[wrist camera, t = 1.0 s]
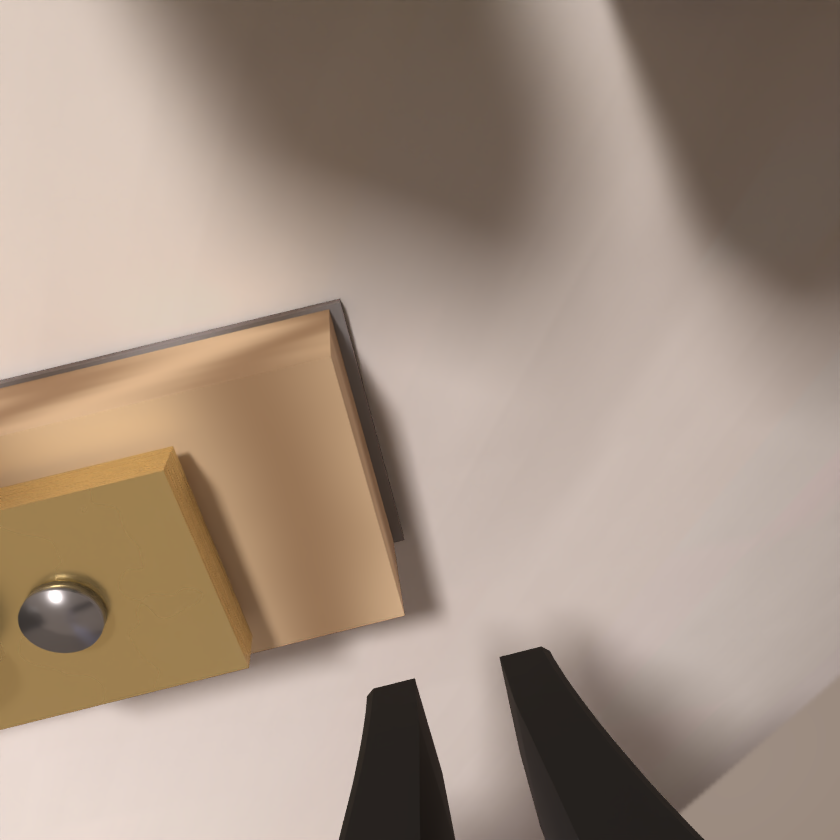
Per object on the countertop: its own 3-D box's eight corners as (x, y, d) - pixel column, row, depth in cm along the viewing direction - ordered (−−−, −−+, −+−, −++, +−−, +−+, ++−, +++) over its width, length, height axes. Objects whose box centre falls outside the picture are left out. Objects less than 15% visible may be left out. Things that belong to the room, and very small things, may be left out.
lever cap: (173, 445, 14) (151, 498, 13) (252, 636, 17) (244, 703, 15) (-172, 529, 14) (-241, 594, 13) (-43, 709, 17) (-86, 786, 15)
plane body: (339, 298, 18) (343, 349, 14) (402, 533, 21) (417, 618, 18) (-334, 460, 17) (-482, 549, 14) (-163, 673, 21) (-253, 785, 17)
